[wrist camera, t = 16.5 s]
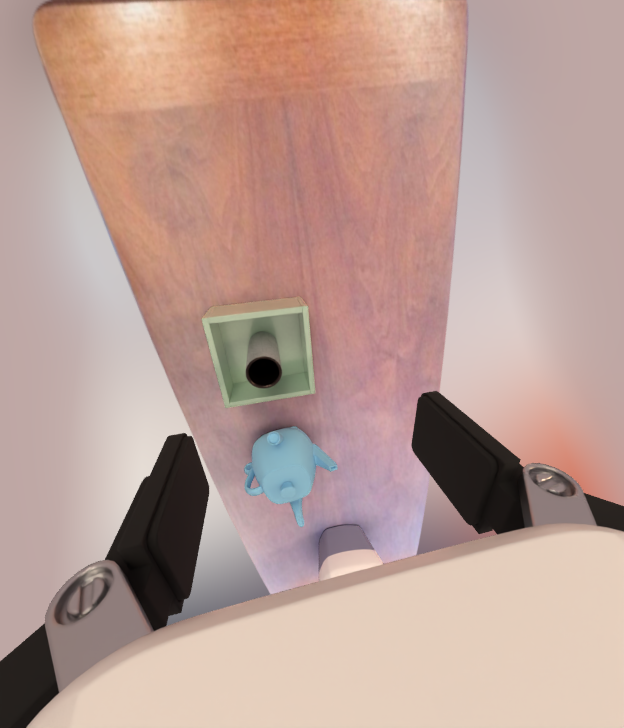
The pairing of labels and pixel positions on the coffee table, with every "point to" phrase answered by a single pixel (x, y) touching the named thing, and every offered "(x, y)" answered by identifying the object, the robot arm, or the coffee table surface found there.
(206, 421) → the coffee table surface
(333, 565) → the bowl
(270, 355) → the grey hollow cylinder
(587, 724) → the robot arm
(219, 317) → the green open box
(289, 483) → the teapot
